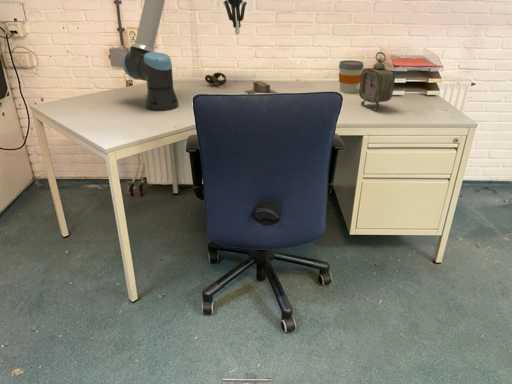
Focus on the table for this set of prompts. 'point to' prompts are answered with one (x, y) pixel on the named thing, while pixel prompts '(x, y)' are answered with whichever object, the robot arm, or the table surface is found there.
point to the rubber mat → (257, 92)
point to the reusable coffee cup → (350, 75)
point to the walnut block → (261, 87)
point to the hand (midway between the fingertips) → (237, 33)
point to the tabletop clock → (376, 83)
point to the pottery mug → (216, 79)
